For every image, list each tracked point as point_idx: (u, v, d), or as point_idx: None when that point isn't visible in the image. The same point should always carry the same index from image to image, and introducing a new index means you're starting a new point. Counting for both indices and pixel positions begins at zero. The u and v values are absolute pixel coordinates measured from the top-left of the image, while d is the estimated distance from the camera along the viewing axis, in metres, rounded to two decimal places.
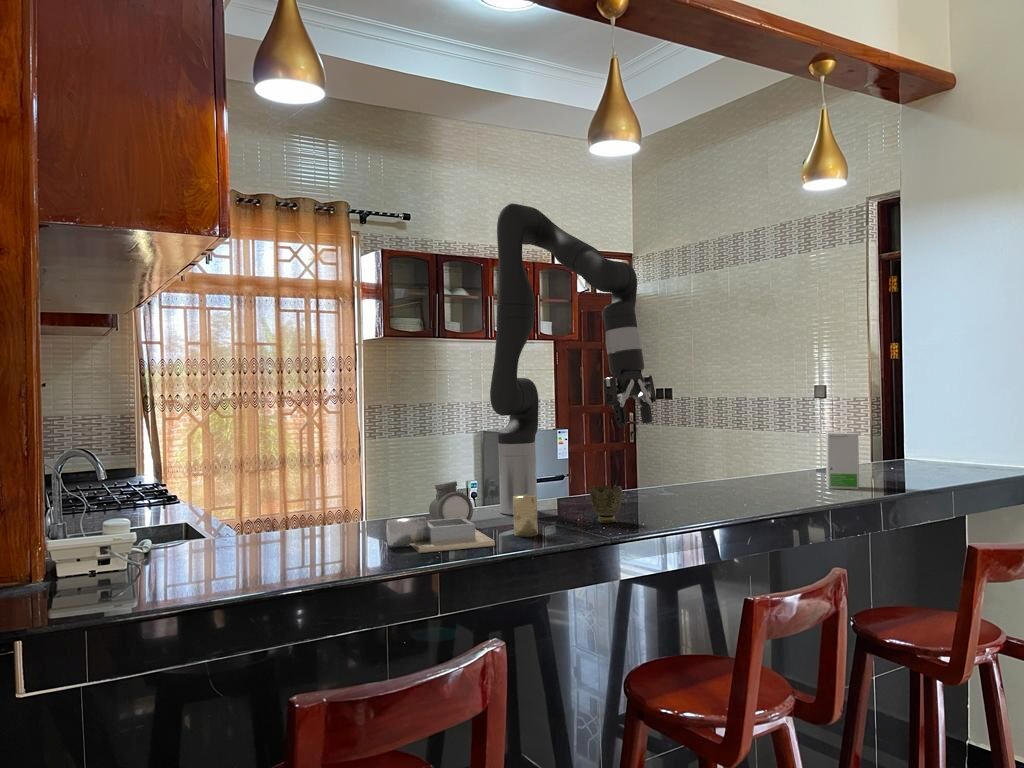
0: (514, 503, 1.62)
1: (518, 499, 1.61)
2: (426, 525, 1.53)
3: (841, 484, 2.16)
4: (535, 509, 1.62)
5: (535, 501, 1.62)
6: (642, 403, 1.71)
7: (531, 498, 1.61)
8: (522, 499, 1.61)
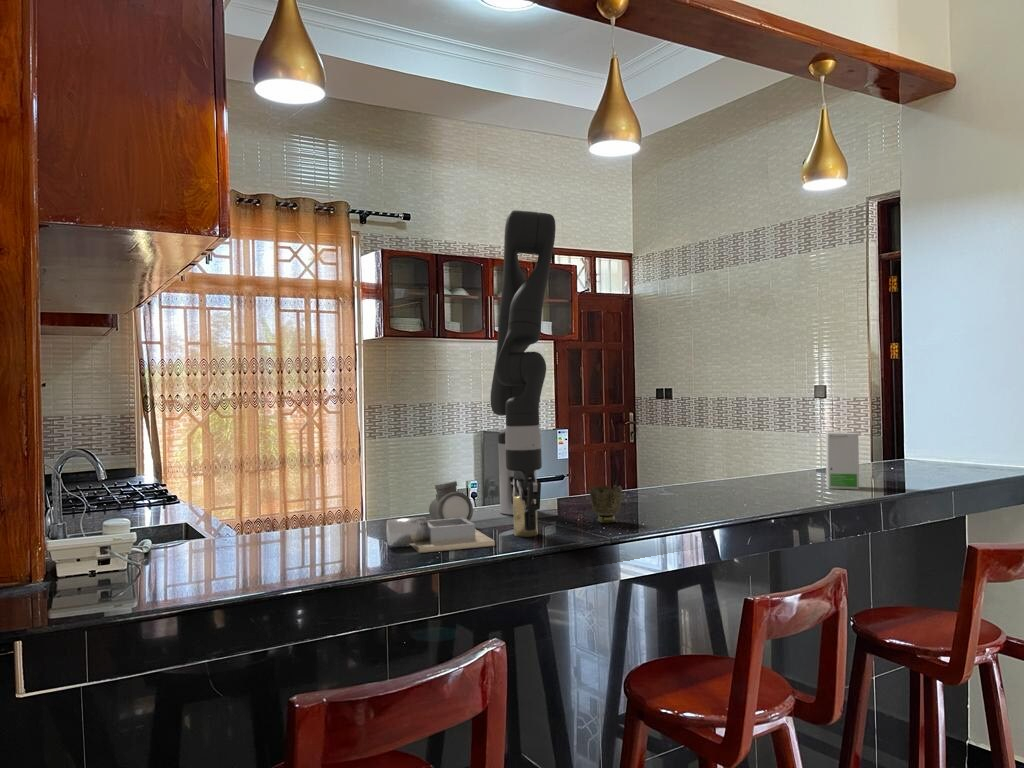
0: (514, 503, 1.62)
1: (518, 499, 1.61)
2: (426, 525, 1.53)
3: (841, 484, 2.16)
4: None
5: None
6: None
7: None
8: None
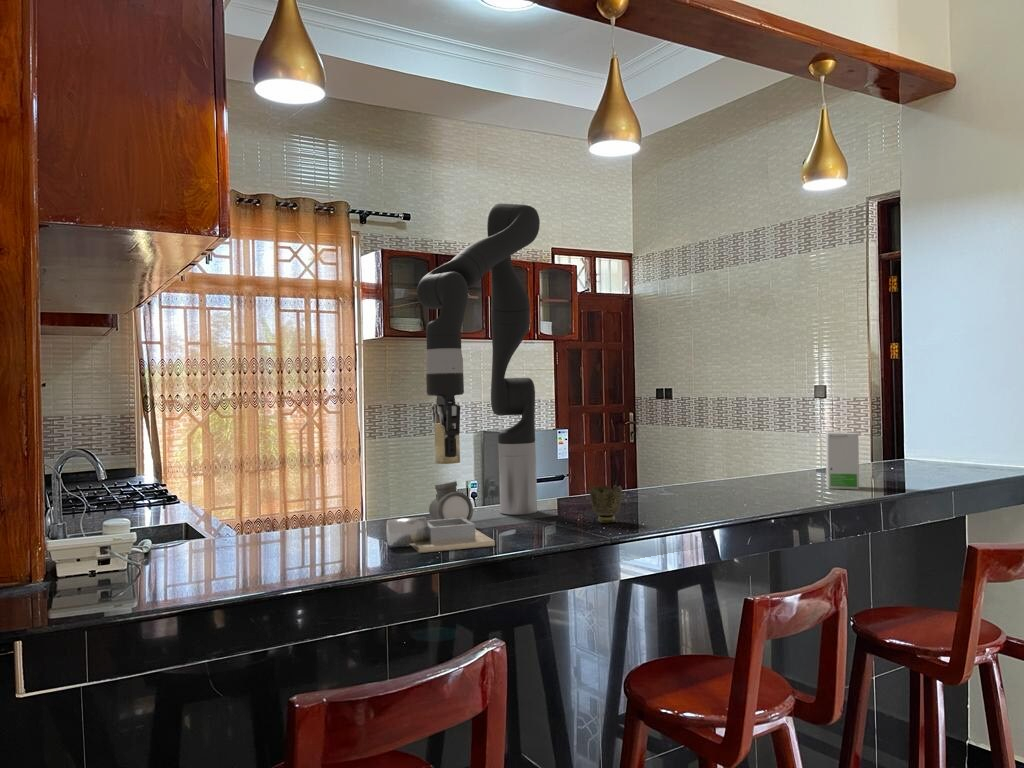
0: (435, 430, 1.56)
1: (438, 425, 1.55)
2: (426, 525, 1.53)
3: (841, 484, 2.16)
4: (457, 436, 1.56)
5: None
6: None
7: None
8: None
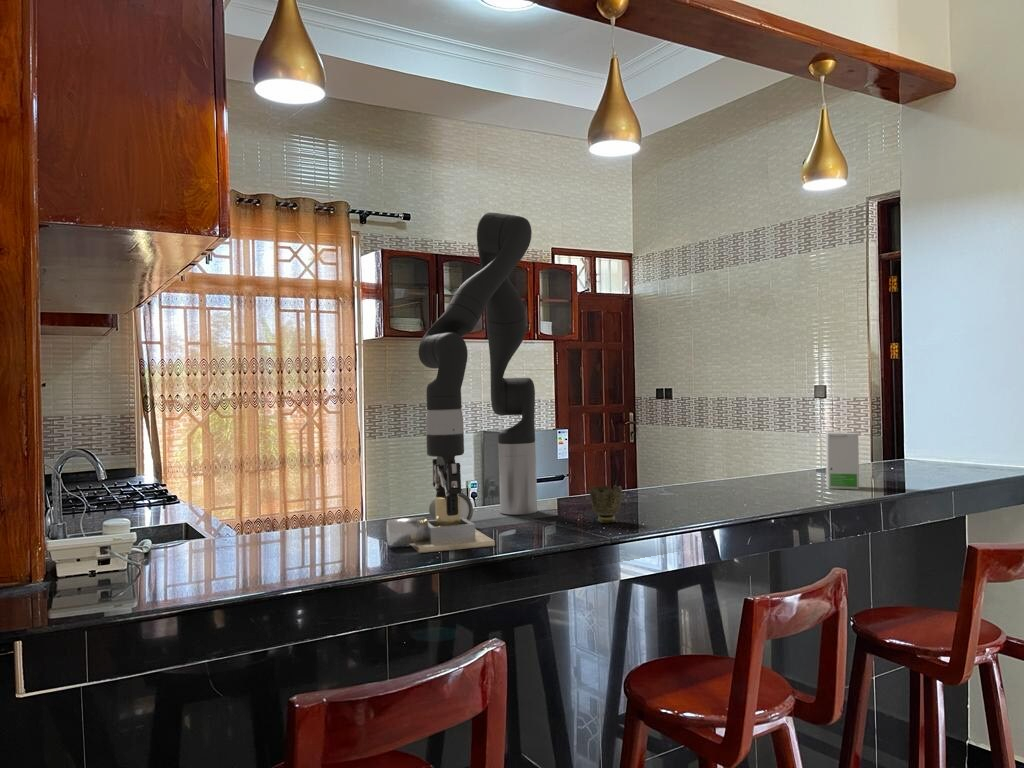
0: (436, 505, 1.56)
1: (439, 500, 1.55)
2: (426, 525, 1.53)
3: (841, 484, 2.16)
4: None
5: (458, 503, 1.56)
6: None
7: None
8: (443, 500, 1.54)
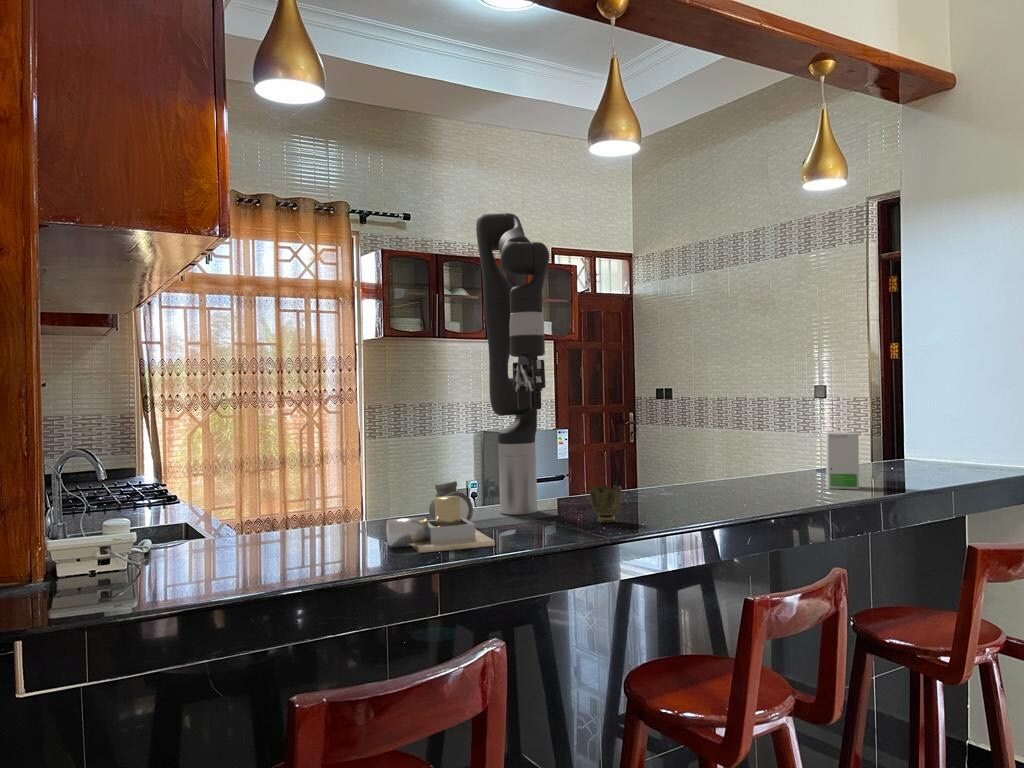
0: (435, 505, 1.56)
1: (439, 501, 1.55)
2: (426, 525, 1.53)
3: (841, 484, 2.16)
4: (457, 511, 1.56)
5: (457, 503, 1.56)
6: None
7: (452, 500, 1.55)
8: (443, 501, 1.54)
